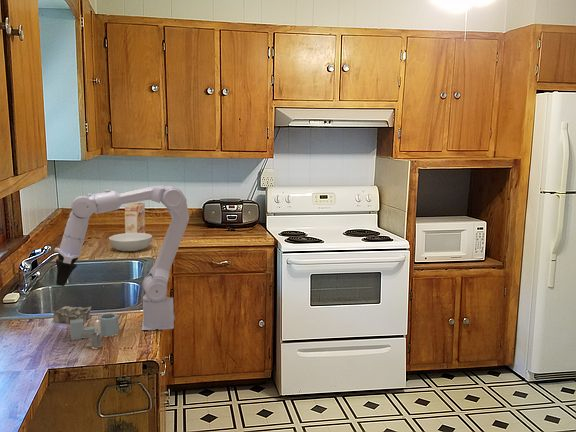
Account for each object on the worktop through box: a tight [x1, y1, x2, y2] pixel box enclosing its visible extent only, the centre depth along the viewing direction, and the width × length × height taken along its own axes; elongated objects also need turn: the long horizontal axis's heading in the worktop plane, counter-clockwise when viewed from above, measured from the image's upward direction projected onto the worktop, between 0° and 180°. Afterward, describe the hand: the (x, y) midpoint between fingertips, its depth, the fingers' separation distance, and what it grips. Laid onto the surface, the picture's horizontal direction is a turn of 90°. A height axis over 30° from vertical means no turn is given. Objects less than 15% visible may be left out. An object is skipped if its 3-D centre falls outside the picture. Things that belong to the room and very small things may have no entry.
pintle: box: [93, 318, 102, 341], centre depth 155 cm, size 2×2×6 cm
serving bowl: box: [108, 232, 153, 252], centre depth 272 cm, size 21×21×7 cm
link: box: [69, 312, 120, 341], centre depth 159 cm, size 13×6×5 cm, turn 113°
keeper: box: [81, 332, 101, 348], centre depth 150 cm, size 2×5×4 cm, turn 78°
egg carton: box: [51, 305, 92, 324], centre depth 172 cm, size 11×8×4 cm
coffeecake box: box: [124, 202, 146, 233], centre depth 297 cm, size 15×7×20 cm, turn 179°
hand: (60, 281), depth 156 cm, fingers open, 7 cm apart
